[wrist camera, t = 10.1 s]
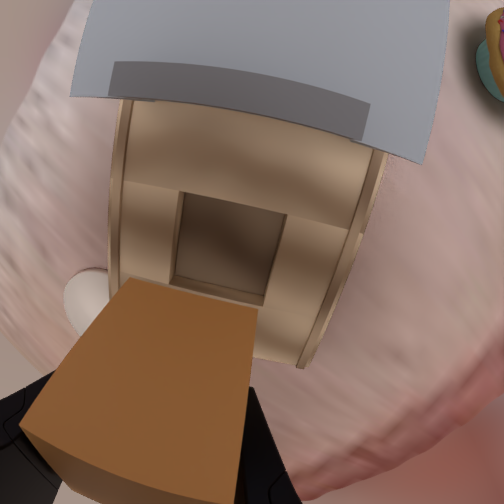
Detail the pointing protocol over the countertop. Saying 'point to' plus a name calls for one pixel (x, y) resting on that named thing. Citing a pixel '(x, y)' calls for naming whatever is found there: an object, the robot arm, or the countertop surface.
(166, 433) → the block
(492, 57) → the cupcake
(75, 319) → the dish
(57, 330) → the countertop surface
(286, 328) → the board
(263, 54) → the grey toy table
